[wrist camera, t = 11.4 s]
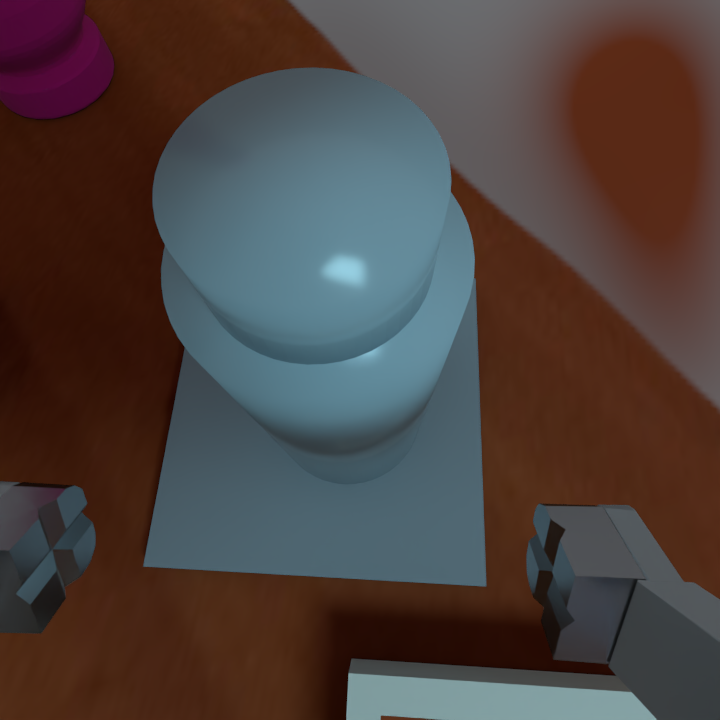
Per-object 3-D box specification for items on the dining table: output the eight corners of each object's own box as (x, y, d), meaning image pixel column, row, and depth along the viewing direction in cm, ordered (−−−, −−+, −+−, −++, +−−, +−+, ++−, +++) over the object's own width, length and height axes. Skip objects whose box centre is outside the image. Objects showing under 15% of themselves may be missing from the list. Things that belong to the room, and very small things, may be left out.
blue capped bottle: (268, 480, 18) (55, 354, 6) (290, 288, 21) (174, -63, 9) (419, 487, 18) (514, 370, 6) (421, 291, 21) (486, -64, 9)
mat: (149, 565, 18) (143, 566, 17) (203, 276, 22) (199, 270, 21) (483, 585, 17) (486, 586, 17) (473, 284, 21) (475, 278, 21)
